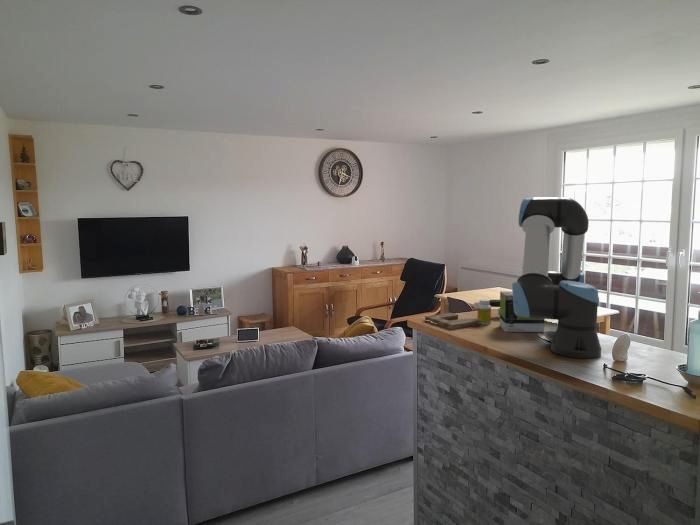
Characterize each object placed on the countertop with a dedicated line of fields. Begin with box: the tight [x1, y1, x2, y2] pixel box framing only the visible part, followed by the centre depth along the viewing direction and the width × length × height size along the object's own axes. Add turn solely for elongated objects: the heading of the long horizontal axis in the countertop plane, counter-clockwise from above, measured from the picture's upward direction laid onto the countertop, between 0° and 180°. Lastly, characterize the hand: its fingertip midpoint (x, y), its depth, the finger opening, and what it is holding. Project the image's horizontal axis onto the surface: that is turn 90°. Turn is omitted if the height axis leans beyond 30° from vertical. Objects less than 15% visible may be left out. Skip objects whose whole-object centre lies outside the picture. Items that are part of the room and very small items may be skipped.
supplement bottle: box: [476, 298, 492, 325], centre depth 202 cm, size 5×5×10 cm
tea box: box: [499, 290, 546, 333], centre depth 192 cm, size 15×10×15 cm, turn 84°
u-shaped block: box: [424, 312, 480, 331], centre depth 203 cm, size 17×14×2 cm
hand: (486, 308), depth 203 cm, fingers open, 13 cm apart
